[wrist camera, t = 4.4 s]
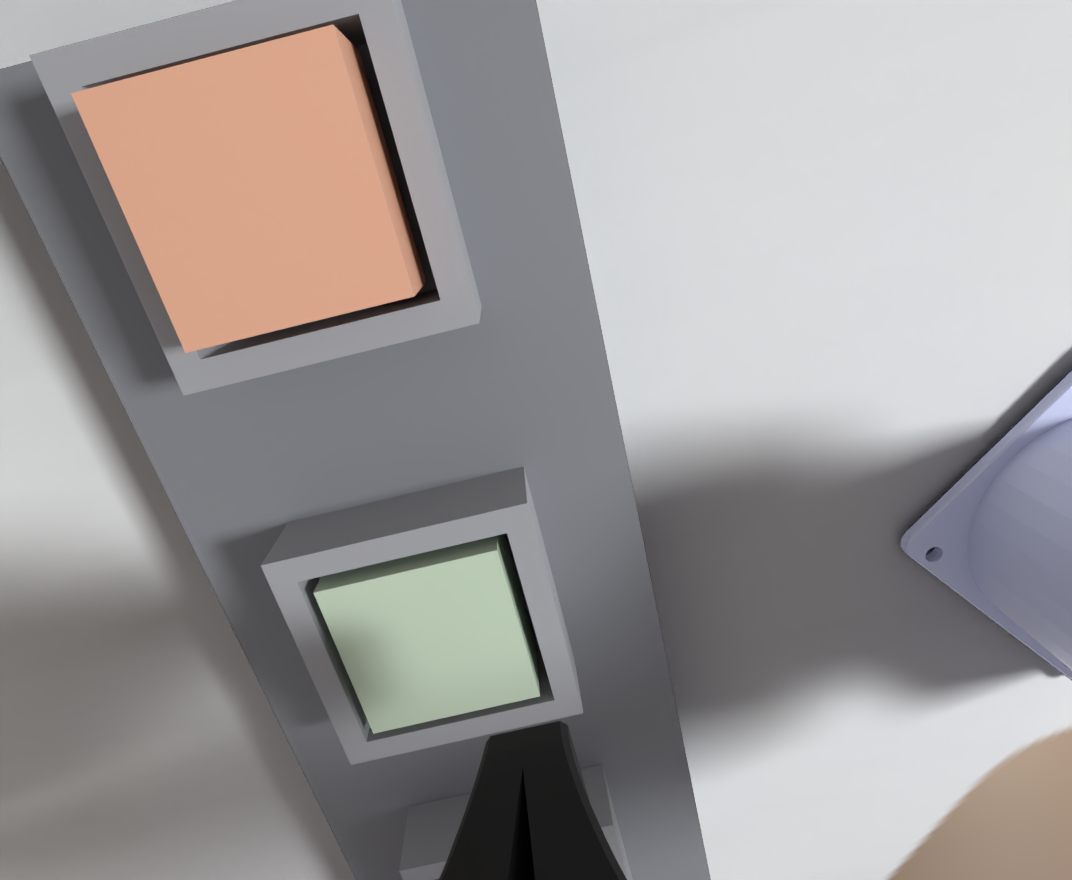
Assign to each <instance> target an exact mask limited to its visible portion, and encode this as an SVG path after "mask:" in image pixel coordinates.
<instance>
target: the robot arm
mask: <svg viewBox="0 0 1072 880" xmlns="http://www.w3.org/2000/svg"><path fill="white" fill-rule="evenodd" d="M900 544H901V548H902V550H903V551H904V552H905V553H906V554H907V555H908V556H909V557H911V558H912V559H913V560H914V561H916V562H917V563H918V564H920V565H921V566H922V567H924V568H925V569H926V570H928V571H929V572H930V573H932V574H933V575H934V576H935V577H937V578H938V579H939V580H941V581H942V582H943V583H945V584H946V585H947V586H949V587H950V588H951V589H952V590H954V591H955V592H956V593H958V594H959V595H960V596H962V597H963V598H964V599H966V600H967V601H968V602H970V603H971V604H972V605H973V606H975V607H976V608H977V609H979V610H980V611H981V612H983V613H984V614H985V615H987V616H988V617H989V618H990V619H992V620H993V621H994V622H996V623H997V624H998V625H1000V626H1001V627H1002V628H1004V629H1005V630H1006V631H1008V632H1009V633H1010V634H1011V635H1013V636H1014V637H1015V638H1017V639H1018V640H1019V641H1021V642H1022V643H1023V644H1025V645H1026V646H1027V647H1029V648H1030V649H1031V650H1032V651H1034V652H1035V653H1036V654H1038V655H1039V656H1040V657H1042V658H1043V659H1044V660H1046V661H1047V662H1048V663H1049V664H1051V665H1052V666H1053V667H1055V668H1056V669H1057V670H1059V671H1060V672H1061V673H1063V674H1064V675H1065V676H1067V677H1068V678H1069V679H1070V680H1072V371H1071V372H1070V373H1069V374H1068V375H1067V376H1066V377H1065V378H1064V379H1063V380H1062V381H1061V382H1060V383H1059V384H1057V385H1056V386H1055V387H1054V388H1053V389H1052V390H1051V391H1050V392H1049V393H1048V394H1047V395H1046V396H1045V397H1044V398H1043V399H1042V400H1041V401H1040V402H1039V403H1038V404H1037V405H1036V406H1035V407H1034V408H1033V409H1032V410H1031V411H1030V412H1029V413H1028V414H1027V415H1026V416H1025V417H1024V418H1023V419H1022V420H1020V421H1019V422H1018V423H1017V424H1016V425H1015V426H1014V427H1013V428H1012V429H1011V430H1010V431H1009V432H1008V433H1007V434H1006V435H1005V436H1004V437H1003V438H1002V439H1001V440H1000V441H999V442H998V443H997V444H996V445H995V446H994V447H993V448H992V449H991V450H990V451H989V452H988V453H987V454H986V455H985V456H983V457H982V458H981V459H980V460H979V461H978V462H977V463H976V464H975V465H974V466H973V467H972V468H971V469H970V470H969V471H968V472H967V473H966V474H965V475H964V476H963V477H962V478H961V479H960V480H959V481H958V482H957V483H956V484H955V485H954V486H953V487H952V488H951V489H950V490H949V491H947V492H946V493H945V494H944V495H943V496H942V497H941V498H940V499H939V500H938V501H937V502H936V503H935V504H934V505H933V506H932V507H931V508H930V509H929V510H928V511H927V512H926V513H925V514H924V515H923V516H922V517H921V518H920V519H919V520H918V521H917V522H916V523H915V524H914V525H913V526H912V527H910V528H909V529H908V530H907V531H906V532H905V534H904V535H903V536H902V539H901V542H900ZM932 547H934V550H933V551H932V552H931V553H930V554H928V555H926V553H927V551H928V550H929V549H931V548H932ZM439 880H627V879H626V877H625V875H624V873H623V871H622V869H621V867H620V865H619V864H618V862H617V860H616V858H615V856H614V854H613V852H612V850H611V848H610V846H609V844H608V842H607V840H606V838H605V835H604V833H603V831H602V829H601V826H600V824H599V822H598V820H597V818H596V815H595V813H594V811H593V809H592V806H591V804H590V801H589V797H588V794H587V790H586V787H585V783H584V780H583V776H582V773H581V769H580V766H579V762H578V759H577V755H576V752H575V748H574V745H573V741H572V738H571V734H570V731H569V727H568V725H567V724H565V723H563V722H562V721H557V722H552V723H547V724H543V725H538V726H534V727H529V728H525V729H520V730H516V731H511V732H506V733H502V734H497V735H493V736H490V738H489V739H488V740H487V742H486V744H485V748H484V752H483V756H482V759H481V763H480V766H479V770H478V773H477V776H476V780H475V783H474V786H473V789H472V792H471V795H470V798H469V801H468V804H467V807H466V810H465V813H464V816H463V818H462V821H461V824H460V827H459V829H458V832H457V835H456V837H455V840H454V843H453V845H452V848H451V851H450V853H449V856H448V859H447V861H446V864H445V866H444V869H443V871H442V873H441V876H440V878H439Z"/></svg>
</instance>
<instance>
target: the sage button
mask: <svg viewBox="0 0 1072 880" xmlns="http://www.w3.org/2000/svg"><path fill="white" fill-rule="evenodd" d="M314 596H315V598H316V600H317V603H318V605H319V607H320V610H321V612H322V614H323V617H324V619H325V621H326V624H327V626H328V628H329V631H330V633H331V635H332V638H333V640H334V642H335V645H336V647H337V650H338V652H339V654H340V657H341V659H342V661H343V664H344V666H345V668H346V671H347V673H348V675H349V678H350V680H351V682H352V685H353V687H354V689H355V692H356V694H357V696H358V699H359V701H360V703H361V706H362V708H363V711H364V713H365V715H366V718H367V720H368V722H369V725H370V727H371V729H372V732H373V734H375V733H379V732H384V731H388V730H392V729H397V728H401V727H406V726H410V725H415V724H419V723H424V722H428V721H433V720H437V719H441V718H446V717H450V716H455V715H459V714H464V713H468V712H473V711H477V710H482V709H486V708H490V707H495V706H499V705H504V704H508V703H513V702H517V701H522V700H526V699H531V698H535V697H539V696H540V688H539V675H538V663H537V651H536V642H535V638H534V635H533V631H532V628H531V624H530V621H529V617H528V614H527V610H526V607H525V603H524V600H523V597H522V593H521V590H520V586H519V583H518V579H517V576H516V572H515V569H514V565H513V562H512V558H511V555H510V551H509V548H508V544H507V541H506V537H505V534H501V535H497V536H493V537H489V538H484V539H480V540H476V541H471V542H467V543H463V544H459V545H454V546H450V547H446V548H441V549H437V550H433V551H429V552H424V553H420V554H416V555H411V556H407V557H403V558H399V559H394V560H390V561H386V562H381V563H377V564H373V565H369V566H364V567H360V568H356V569H351V570H347V571H343V572H339V573H334V574H330V575H326V576H321V577H320V580H319V582H318V584H317V586H316V588H315V590H314Z"/></svg>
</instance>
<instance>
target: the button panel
mask: <svg viewBox="0 0 1072 880" xmlns="http://www.w3.org/2000/svg"><path fill="white" fill-rule="evenodd" d="M329 25H334V26H335V27H336V28H337V29H338V30H339V31H340V32H341V33H342V34H343V35H344V36H345V37H346V38H347V39H348V40H349V41H350V42H351V43H352V44H353V45H354V46H355V47H356V48H357V49H358V50H359V51H360V55H361V58H362V62H363V65H364V69H365V72H366V75H367V79H368V82H369V86H370V89H371V93H372V96H373V100H374V103H375V106H376V110H377V113H378V117H379V120H380V124H381V127H382V131H383V134H384V138H385V141H386V144H387V148H388V151H389V155H390V158H391V162H392V165H393V169H394V172H395V175H396V179H397V182H398V186H399V189H400V193H401V196H402V200H403V203H404V206H405V210H406V213H407V217H408V220H409V224H410V227H411V231H412V234H413V237H414V241H415V244H416V248H417V251H418V255H419V258H420V262H421V265H422V268H423V272H424V275H425V279H426V283H425V284H424V285H423V286H422V288H421V289H420V290H419V291H418V293H417V294H416V295H415V296H414V297H410V298H406V299H402V300H398V301H394V302H390V303H386V304H382V305H378V306H374V307H370V308H366V309H362V310H358V311H354V312H350V313H346V314H342V315H338V316H333V317H329V318H325V319H321V320H317V321H313V322H309V323H305V324H301V325H297V326H293V327H289V328H285V329H281V330H277V331H273V332H269V333H265V334H261V335H257V336H253V337H249V338H244V339H240V340H236V341H232V342H228V343H224V344H220V345H216V346H212V347H208V348H204V349H200V350H196V351H192V352H188V353H185V351H184V349H183V347H182V344H181V342H180V340H179V338H178V335H177V333H176V331H175V329H174V326H173V324H172V322H171V319H170V317H169V315H168V313H167V310H166V308H165V306H164V304H163V301H162V299H161V297H160V294H159V292H158V290H157V288H156V285H155V283H154V281H153V279H152V276H151V274H150V272H149V270H148V267H147V265H146V263H145V260H144V258H143V256H142V254H141V251H140V249H139V247H138V245H137V242H136V240H135V238H134V236H133V233H132V231H131V229H130V226H129V224H128V222H127V220H126V217H125V215H124V213H123V211H122V208H121V206H120V204H119V202H118V199H117V197H116V195H115V192H114V190H113V188H112V186H111V183H110V181H109V179H108V177H107V174H106V172H105V170H104V168H103V165H102V163H101V161H100V158H99V156H98V154H97V152H96V149H95V147H94V145H93V143H92V140H91V138H90V136H89V134H88V131H87V129H86V127H85V124H84V122H83V120H82V118H81V115H80V113H79V111H78V109H77V106H76V104H75V102H74V100H73V97H72V95H71V93H74V92H77V91H81V90H85V89H89V88H93V87H97V86H100V85H104V84H108V83H112V82H116V81H119V80H123V79H127V78H131V77H135V76H138V75H142V74H146V73H150V72H154V71H157V70H161V69H165V68H169V67H173V66H176V65H180V64H184V63H188V62H192V61H196V60H199V59H203V58H207V57H211V56H215V55H218V54H222V53H226V52H230V51H234V50H237V49H241V48H245V47H249V46H253V45H256V44H260V43H264V42H268V41H272V40H275V39H279V38H283V37H287V36H291V35H295V34H298V33H302V32H306V31H310V30H314V29H317V28H321V27H325V26H329ZM29 56H30V58H31V60H32V61H29V62H25V63H22V64H18V65H14V66H10V67H7V68H3V69H0V157H1V159H2V161H3V163H4V165H5V167H6V169H7V171H8V173H9V175H10V177H11V179H12V181H13V183H14V185H15V187H16V189H17V191H18V193H19V195H20V197H21V199H22V201H23V203H24V205H25V207H26V209H27V212H28V214H29V216H30V218H31V220H32V222H33V224H34V226H35V228H36V230H37V232H38V234H39V236H40V238H41V240H42V242H43V244H44V246H45V248H46V250H47V252H48V254H49V256H50V258H51V260H52V262H53V264H54V266H55V268H56V270H57V272H58V275H59V277H60V279H61V281H62V283H63V285H64V287H65V289H66V291H67V293H68V295H69V297H70V299H71V301H72V303H73V305H74V307H75V309H76V311H77V313H78V315H79V317H80V319H81V321H82V323H83V325H84V327H85V329H86V331H87V333H88V336H89V338H90V340H91V342H92V344H93V346H94V348H95V350H96V352H97V354H98V356H99V358H100V360H101V362H102V364H103V366H104V368H105V370H106V372H107V374H108V376H109V378H110V380H111V382H112V384H113V386H114V388H115V390H116V392H117V394H118V397H119V399H120V401H121V403H122V405H123V407H124V409H125V411H126V413H127V415H128V417H129V419H130V421H131V423H132V425H133V427H134V429H135V431H136V433H137V435H138V437H139V439H140V441H141V443H142V445H143V447H144V449H145V451H146V453H147V455H148V457H149V460H150V462H151V464H152V466H153V468H154V470H155V472H156V474H157V476H158V478H159V480H160V482H161V484H162V486H163V488H164V490H165V492H166V494H167V496H168V498H169V500H170V502H171V504H172V506H173V508H174V510H175V512H176V514H177V516H178V518H179V521H180V523H181V525H182V527H183V529H184V531H185V533H186V535H187V537H188V539H189V541H190V543H191V545H192V547H193V549H194V551H195V553H196V555H197V557H198V559H199V561H200V563H201V565H202V567H203V569H204V571H205V573H206V575H207V577H208V579H209V582H210V584H211V586H212V588H213V590H214V592H215V594H216V596H217V598H218V600H219V602H220V604H221V606H222V608H223V610H224V612H225V614H226V616H227V618H228V620H229V622H230V624H231V626H232V628H233V630H234V632H235V634H236V636H237V638H238V640H239V642H240V645H241V647H242V649H243V651H244V653H245V655H246V657H247V659H248V661H249V663H250V665H251V667H252V669H253V671H254V673H255V675H256V677H257V679H258V681H259V683H260V685H261V687H262V689H263V691H264V693H265V695H266V697H267V699H268V701H269V703H270V706H271V708H272V710H273V712H274V714H275V716H276V718H277V720H278V722H279V724H280V726H281V728H282V730H283V732H284V734H285V736H286V738H287V740H288V742H289V744H290V746H291V748H292V750H293V752H294V754H295V756H296V758H297V760H298V762H299V764H300V767H301V769H302V771H303V773H304V775H305V777H306V779H307V781H308V783H309V785H310V787H311V789H312V791H313V793H314V795H315V797H316V799H317V801H318V803H319V805H320V807H321V809H322V811H323V813H324V815H325V817H326V819H327V821H328V823H329V825H330V827H331V830H332V832H333V834H334V836H335V838H336V840H337V842H338V844H339V846H340V848H341V850H342V852H343V854H344V856H345V858H346V860H347V862H348V864H349V866H350V868H351V870H352V872H353V874H354V876H355V878H356V880H439V878H440V876H441V873H442V871H443V869H444V866H445V864H446V861H447V859H448V856H449V853H450V851H451V848H452V845H453V843H454V840H455V837H456V835H457V832H458V829H459V827H460V824H461V821H462V818H463V816H464V813H465V810H466V807H467V804H468V801H469V798H470V795H471V792H472V789H473V786H474V783H475V780H476V776H477V773H478V770H479V766H480V763H481V759H482V756H483V752H484V748H485V744H486V742H487V740H488V739H489V738H490V736H493V735H497V734H502V733H506V732H511V731H516V730H520V729H525V728H529V727H534V726H538V725H543V724H547V723H552V722H557V721H562V722H563V723H565V724H567V725H568V727H569V731H570V734H571V738H572V741H573V745H574V748H575V752H576V755H577V759H578V762H579V766H580V769H581V773H582V776H583V780H584V783H585V787H586V790H587V794H588V797H589V801H590V804H591V806H592V809H593V811H594V813H595V815H596V818H597V820H598V822H599V824H600V826H601V829H602V831H603V833H604V835H605V838H606V840H607V842H608V844H609V846H610V848H611V850H612V852H613V854H614V856H615V858H616V860H617V862H618V864H619V865H620V867H621V869H622V871H623V873H624V875H625V877H626V879H627V880H711V879H710V874H709V869H708V864H707V859H706V854H705V849H704V844H703V839H702V834H701V829H700V824H699V819H698V813H697V808H696V803H695V798H694V793H693V788H692V783H691V778H690V773H689V768H688V763H687V758H686V753H685V748H684V743H683V738H682V733H681V728H680V723H679V718H678V713H677V708H676V703H675V698H674V693H673V688H672V683H671V678H670V673H669V668H668V662H667V657H666V652H665V647H664V642H663V637H662V632H661V627H660V622H659V617H658V612H657V607H656V602H655V597H654V592H653V587H652V582H651V577H650V572H649V567H648V562H647V557H646V552H645V547H644V542H643V537H642V532H641V527H640V522H639V516H638V511H637V506H636V501H635V496H634V491H633V486H632V481H631V476H630V471H629V466H628V461H627V456H626V451H625V446H624V441H623V436H622V431H621V426H620V421H619V416H618V411H617V406H616V401H615V396H614V391H613V386H612V381H611V376H610V371H609V365H608V360H607V355H606V350H605V345H604V340H603V335H602V330H601V325H600V320H599V315H598V310H597V305H596V300H595V295H594V290H593V285H592V280H591V275H590V270H589V265H588V260H587V255H586V250H585V245H584V240H583V235H582V230H581V225H580V219H579V214H578V209H577V204H576V199H575V194H574V189H573V184H572V179H571V174H570V169H569V164H568V159H567V154H566V149H565V144H564V139H563V134H562V129H561V124H560V119H559V114H558V109H557V104H556V99H555V94H554V89H553V84H552V79H551V74H550V68H549V63H548V58H547V53H546V48H545V43H544V38H543V33H542V28H541V23H540V18H539V13H538V8H537V3H536V0H236V1H232V2H229V3H225V4H221V5H217V6H213V7H210V8H206V9H202V10H198V11H195V12H191V13H187V14H183V15H180V16H176V17H172V18H168V19H164V20H161V21H157V22H153V23H149V24H146V25H142V26H138V27H134V28H131V29H127V30H123V31H119V32H115V33H112V34H108V35H104V36H100V37H97V38H93V39H89V40H85V41H82V42H78V43H74V44H70V45H66V46H63V47H59V48H55V49H51V50H48V51H44V52H40V53H36V54H32V55H29ZM501 534H505V537H506V541H507V544H508V548H509V551H510V555H511V558H512V562H513V565H514V569H515V572H516V576H517V579H518V583H519V586H520V590H521V593H522V597H523V600H524V603H525V607H526V610H527V614H528V617H529V621H530V624H531V628H532V631H533V635H534V638H535V642H536V651H537V663H538V675H539V688H540V696H539V697H535V698H531V699H526V700H522V701H517V702H513V703H508V704H504V705H499V706H495V707H490V708H486V709H482V710H477V711H473V712H468V713H464V714H459V715H455V716H450V717H446V718H441V719H437V720H433V721H428V722H424V723H419V724H415V725H410V726H406V727H401V728H397V729H392V730H388V731H384V732H379V733H375V734H373V732H372V729H371V727H370V725H369V722H368V720H367V718H366V715H365V713H364V711H363V708H362V706H361V703H360V701H359V699H358V696H357V694H356V692H355V689H354V687H353V685H352V682H351V680H350V678H349V675H348V673H347V671H346V668H345V666H344V664H343V661H342V659H341V657H340V654H339V652H338V650H337V647H336V645H335V642H334V640H333V638H332V635H331V633H330V631H329V628H328V626H327V624H326V621H325V619H324V617H323V614H322V612H321V610H320V607H319V605H318V603H317V600H316V598H315V596H314V590H315V588H316V586H317V584H318V582H319V580H320V577H321V576H326V575H330V574H334V573H339V572H343V571H347V570H351V569H356V568H360V567H364V566H369V565H373V564H377V563H381V562H386V561H390V560H394V559H399V558H403V557H407V556H411V555H416V554H420V553H424V552H429V551H433V550H437V549H441V548H446V547H450V546H454V545H459V544H463V543H467V542H471V541H476V540H480V539H484V538H489V537H493V536H497V535H501Z"/></svg>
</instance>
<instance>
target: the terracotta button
mask: <svg viewBox="0 0 1072 880" xmlns="http://www.w3.org/2000/svg"><path fill="white" fill-rule="evenodd" d="M71 95H72V97H73V100H74V102H75V104H76V106H77V109H78V111H79V113H80V115H81V118H82V120H83V122H84V124H85V127H86V129H87V131H88V134H89V136H90V138H91V140H92V143H93V145H94V147H95V149H96V152H97V154H98V156H99V158H100V161H101V163H102V165H103V168H104V170H105V172H106V174H107V177H108V179H109V181H110V183H111V186H112V188H113V190H114V192H115V195H116V197H117V199H118V202H119V204H120V206H121V208H122V211H123V213H124V215H125V217H126V220H127V222H128V224H129V226H130V229H131V231H132V233H133V236H134V238H135V240H136V242H137V245H138V247H139V249H140V251H141V254H142V256H143V258H144V260H145V263H146V265H147V267H148V270H149V272H150V274H151V276H152V279H153V281H154V283H155V285H156V288H157V290H158V292H159V294H160V297H161V299H162V301H163V304H164V306H165V308H166V310H167V313H168V315H169V317H170V319H171V322H172V324H173V326H174V329H175V331H176V333H177V335H178V338H179V340H180V342H181V344H182V347H183V349H184V351H185V353H188V352H192V351H196V350H200V349H204V348H208V347H212V346H216V345H220V344H224V343H228V342H232V341H236V340H240V339H244V338H249V337H253V336H257V335H261V334H265V333H269V332H273V331H277V330H281V329H285V328H289V327H293V326H297V325H301V324H305V323H309V322H313V321H317V320H321V319H325V318H329V317H333V316H338V315H342V314H346V313H350V312H354V311H358V310H362V309H366V308H370V307H374V306H378V305H382V304H386V303H390V302H394V301H398V300H402V299H406V298H410V297H414V296H415V295H416V294H417V293H418V291H419V290H420V289H421V288H422V286H423V285H424V284H425V283H426V279H425V275H424V272H423V268H422V265H421V262H420V258H419V255H418V251H417V248H416V244H415V241H414V237H413V234H412V231H411V227H410V224H409V220H408V217H407V213H406V210H405V206H404V203H403V200H402V196H401V193H400V189H399V186H398V182H397V179H396V175H395V172H394V169H393V165H392V162H391V158H390V155H389V151H388V148H387V144H386V141H385V138H384V134H383V131H382V127H381V124H380V120H379V117H378V113H377V110H376V106H375V103H374V100H373V96H372V93H371V89H370V86H369V82H368V79H367V75H366V72H365V69H364V65H363V62H362V58H361V55H360V51H359V50H358V49H357V48H356V47H355V46H354V45H353V44H352V43H351V42H350V41H349V40H348V39H347V38H346V37H345V36H344V35H343V34H342V33H341V32H340V31H339V30H338V29H337V28H336V27H335V26H334V25H329V26H325V27H321V28H317V29H314V30H310V31H306V32H302V33H298V34H295V35H291V36H287V37H283V38H279V39H275V40H272V41H268V42H264V43H260V44H256V45H253V46H249V47H245V48H241V49H237V50H234V51H230V52H226V53H222V54H218V55H215V56H211V57H207V58H203V59H199V60H196V61H192V62H188V63H184V64H180V65H176V66H173V67H169V68H165V69H161V70H157V71H154V72H150V73H146V74H142V75H138V76H135V77H131V78H127V79H123V80H119V81H116V82H112V83H108V84H104V85H100V86H97V87H93V88H89V89H85V90H81V91H77V92H74V93H71Z"/></svg>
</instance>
